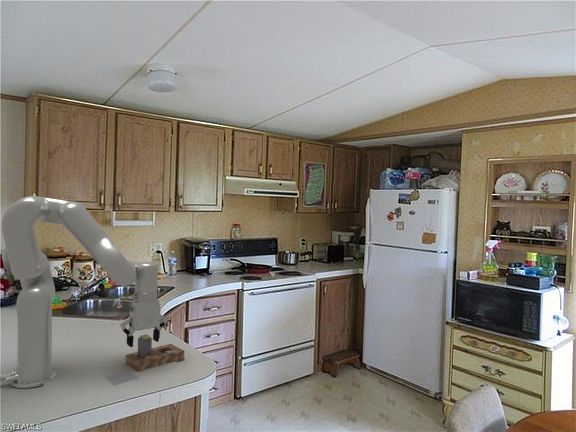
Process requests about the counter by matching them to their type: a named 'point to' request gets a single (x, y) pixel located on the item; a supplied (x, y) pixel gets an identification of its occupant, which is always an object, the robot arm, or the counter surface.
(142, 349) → the plug
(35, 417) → the counter surface
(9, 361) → the counter surface
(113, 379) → the mat
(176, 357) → the socket board
